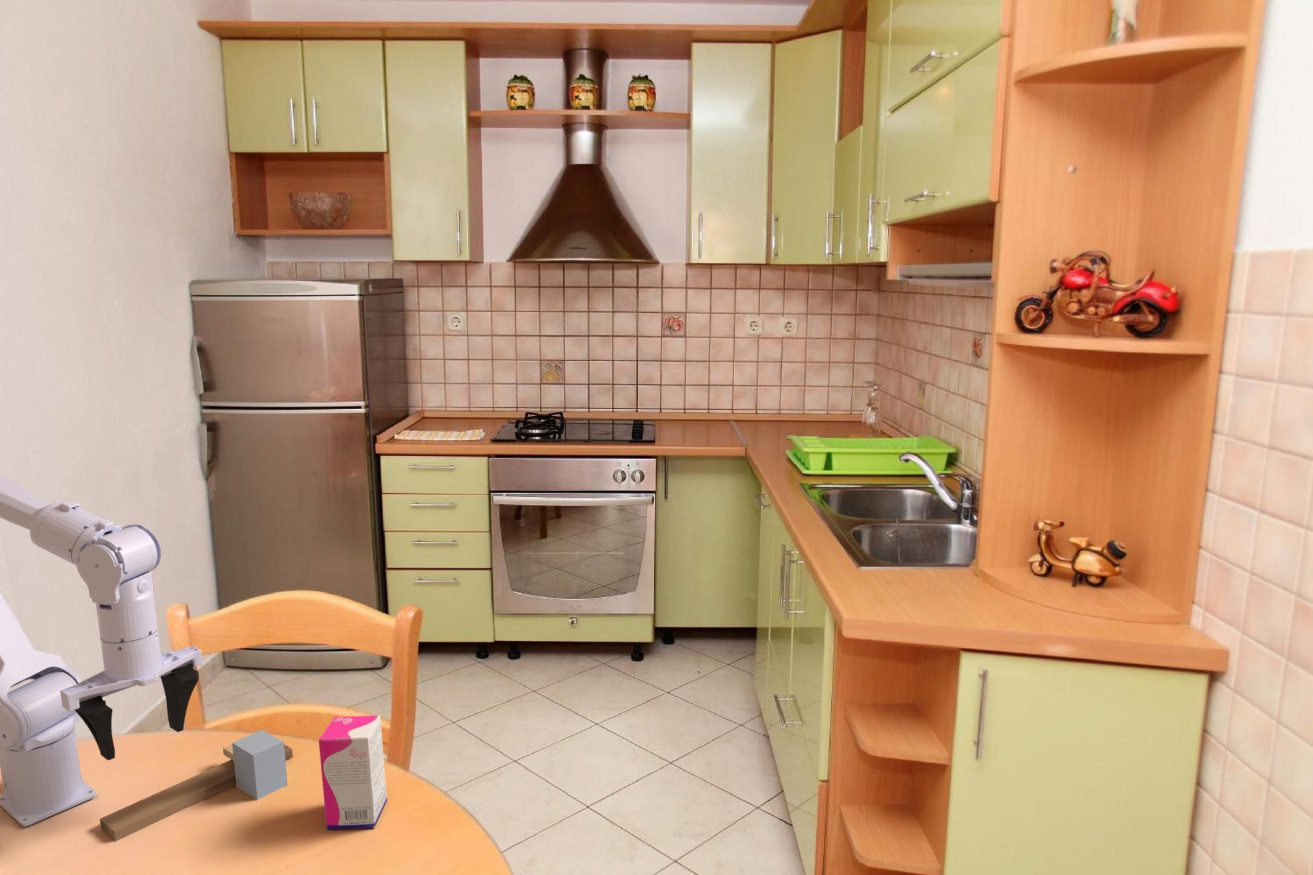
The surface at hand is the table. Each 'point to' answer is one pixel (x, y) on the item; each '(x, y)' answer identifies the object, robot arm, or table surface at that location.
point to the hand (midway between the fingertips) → (143, 742)
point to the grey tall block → (258, 763)
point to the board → (172, 800)
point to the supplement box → (353, 772)
